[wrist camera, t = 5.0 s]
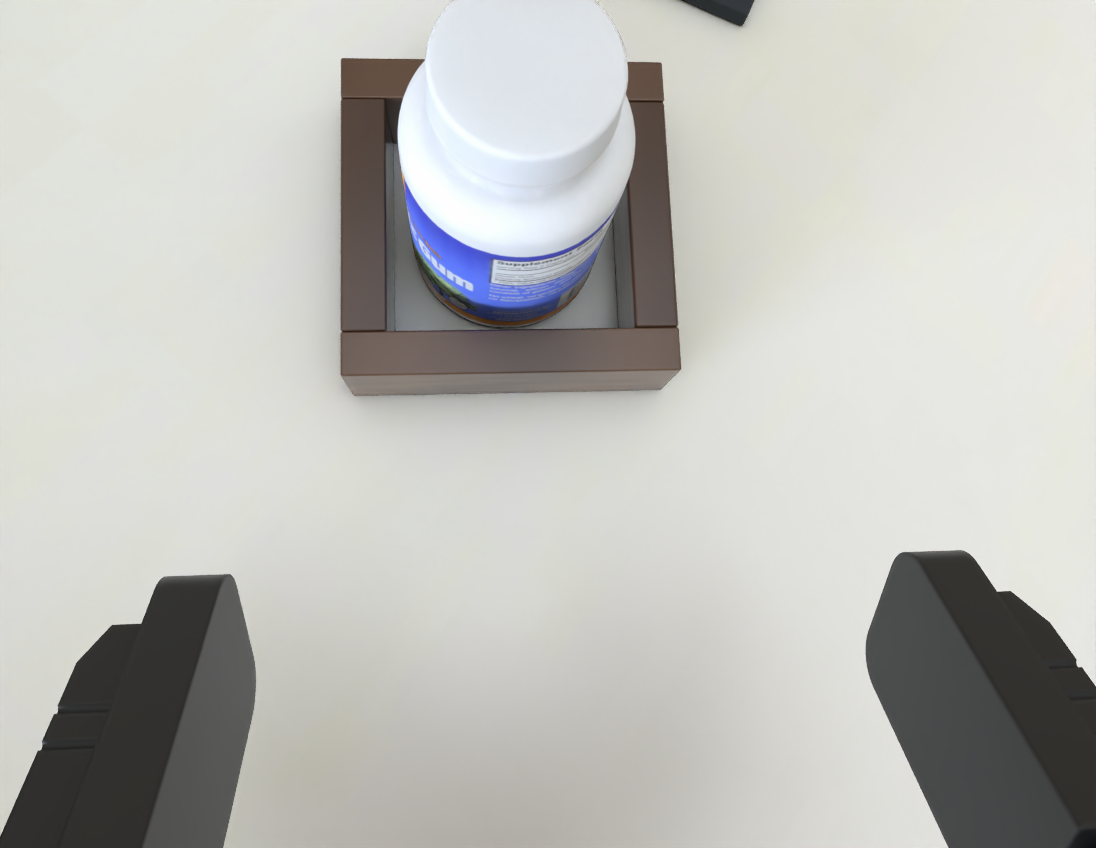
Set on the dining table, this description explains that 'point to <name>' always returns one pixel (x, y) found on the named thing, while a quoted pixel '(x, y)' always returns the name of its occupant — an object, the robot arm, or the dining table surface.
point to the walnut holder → (499, 355)
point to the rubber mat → (726, 8)
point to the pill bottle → (515, 154)
